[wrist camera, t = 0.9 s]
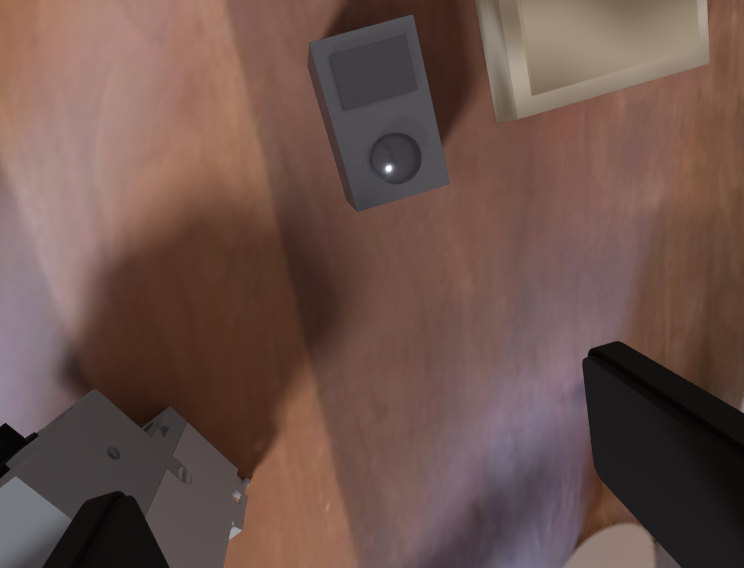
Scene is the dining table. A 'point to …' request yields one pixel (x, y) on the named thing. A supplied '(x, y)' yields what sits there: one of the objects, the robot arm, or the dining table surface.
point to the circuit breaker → (117, 483)
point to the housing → (378, 112)
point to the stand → (584, 48)
